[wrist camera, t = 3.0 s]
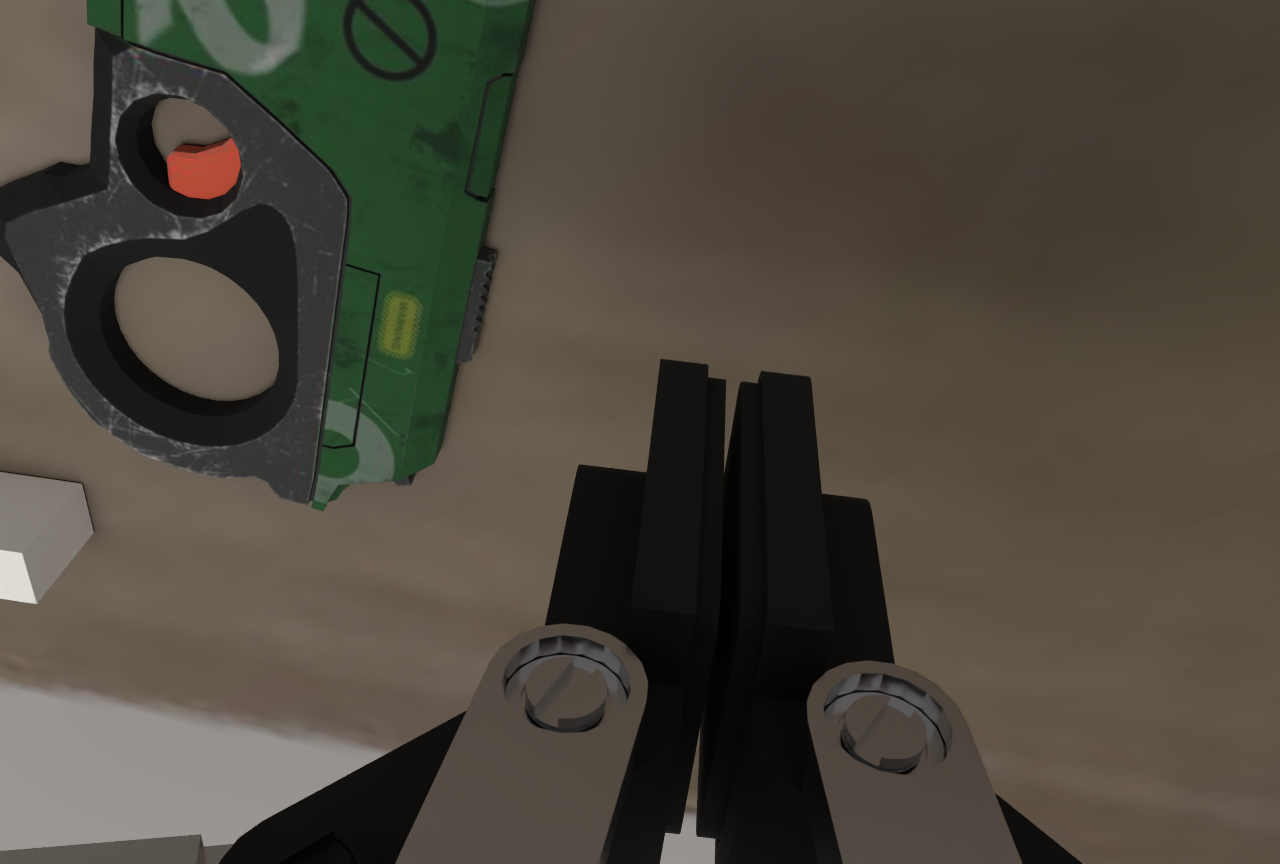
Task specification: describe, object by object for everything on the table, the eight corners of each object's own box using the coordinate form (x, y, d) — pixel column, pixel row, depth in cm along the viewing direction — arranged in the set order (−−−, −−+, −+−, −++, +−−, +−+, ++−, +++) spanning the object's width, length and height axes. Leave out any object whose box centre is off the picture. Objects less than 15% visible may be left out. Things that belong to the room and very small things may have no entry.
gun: (-111, -550, 15) (611, -312, 16) (-45, -535, 16) (623, -314, 17) (-23, 414, 24) (429, 540, 25) (16, 379, 25) (445, 500, 26)
